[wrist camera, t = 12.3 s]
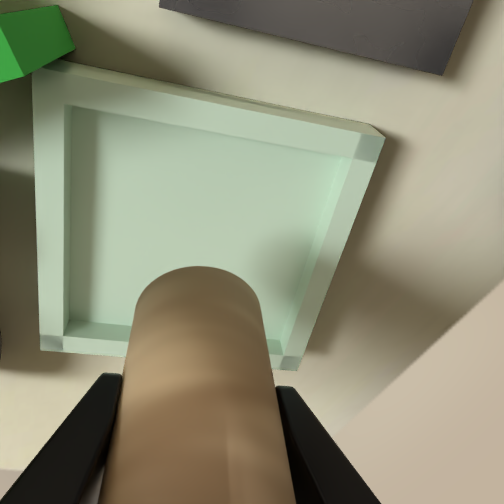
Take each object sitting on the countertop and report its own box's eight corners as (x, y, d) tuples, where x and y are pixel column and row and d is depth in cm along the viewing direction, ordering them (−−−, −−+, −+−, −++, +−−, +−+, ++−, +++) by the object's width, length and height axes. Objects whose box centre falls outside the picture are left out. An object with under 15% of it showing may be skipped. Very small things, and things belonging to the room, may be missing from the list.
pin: (275, 272, 11) (389, 719, 5) (248, 367, 13) (301, 792, 6) (137, 256, 11) (26, 753, 4) (128, 358, 12) (42, 822, 6)
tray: (369, 124, 15) (385, 137, 13) (290, 345, 19) (296, 370, 18) (48, 56, 12) (31, 66, 11) (51, 323, 17) (39, 350, 16)
